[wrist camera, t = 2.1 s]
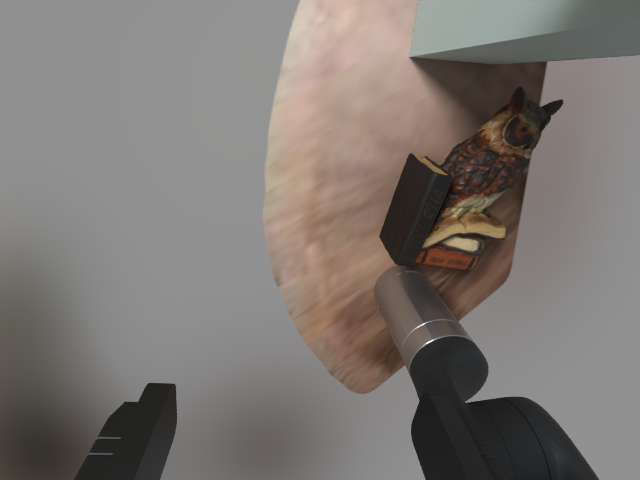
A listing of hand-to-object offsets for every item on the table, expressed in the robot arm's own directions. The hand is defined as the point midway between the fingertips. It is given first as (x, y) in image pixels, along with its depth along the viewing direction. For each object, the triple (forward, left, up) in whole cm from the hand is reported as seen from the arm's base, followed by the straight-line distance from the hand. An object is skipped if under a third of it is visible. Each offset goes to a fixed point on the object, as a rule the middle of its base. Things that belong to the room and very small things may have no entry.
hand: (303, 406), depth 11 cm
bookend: (-1, -24, -40) cm, 47 cm away
